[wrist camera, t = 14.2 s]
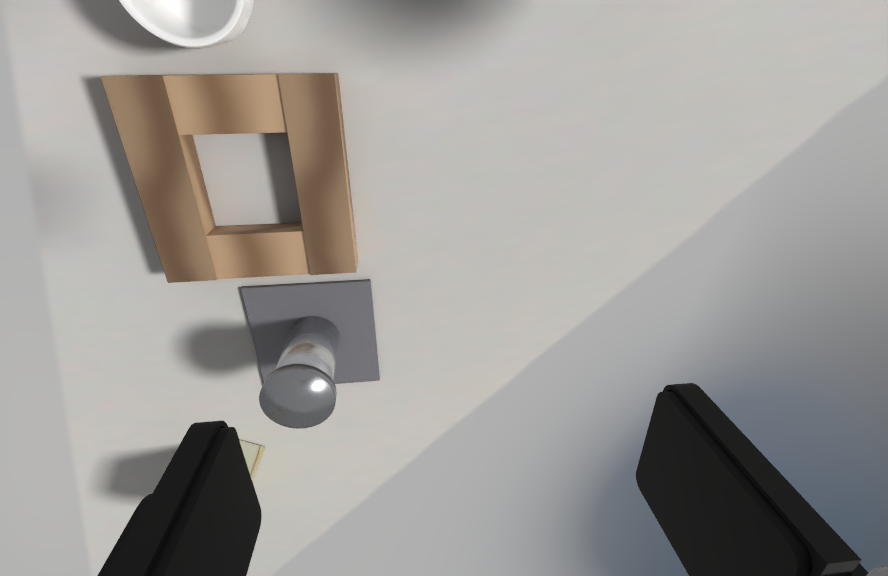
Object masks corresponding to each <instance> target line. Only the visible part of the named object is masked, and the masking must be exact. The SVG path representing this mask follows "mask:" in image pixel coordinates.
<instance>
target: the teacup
mask: <svg viewBox="0 0 888 576" xmlns="http://www.w3.org/2000/svg"><path fill="white" fill-rule="evenodd" d="M119 1H120V3H121V4H122V5H123V7H124V8H125V9H126V11H127V12H128V13H129V14H130V15H131V16H132V17H133V18H134V19H135V20H136V21H137V22H138V23H139V24H140V25H141V26H143V27H144V28H145V29H146V30H148V31H149V32H151V33H152V34H154V35H155V36H157V37H158V38H160V39H162V40H164V41H166V42H169V43H171V44H174V45H177V46H180V47H185V48H193V49H200V48H207V47H212V46H215V45H218V44H221V43H225V42H229V41H231V40H233V39H235V38H236V37H238V36H239V35H240V34H241V33H242V31H243V30H244V29H245V27H246V25H247V23H248V20H249V17H250V15H251V12H252V8H253V3H254V0H119Z"/></svg>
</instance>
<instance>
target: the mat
mask: <svg viewBox="0 0 888 576" xmlns="http://www.w3.org/2000/svg"><path fill="white" fill-rule="evenodd" d="M241 291H242V295H243V299H244V303H245V307H246V311H247V315H248V320H249V324H250V328H251V332H252V336H253V340H254V344H255V348H256V352H257V356H258V360H259V364H260V369H261V373H262V377H263V381H265V379H266V378H267V376H268V375H269V374H270V373H271V372H273V371H274V370H275V369H276V367H277V364H278V362H279V359H280V356H281V353H282V351H283V348H284V345H285V343H286V340H287V337H288V335H289V332H290V329H291V327H292V326H293V324H294V323H295V322H296V321H298V320H299V319H301V318H304V317H308V316H319V317H323V318H326V319H328V320H329V321H331V322H332V323H333V324H334V325H335V326H336V327H337V329H338V330H339V333H340V343H339V349H338V355H337V361H336V366H335V372H334V378H333V382H334V384H340V383H353V382H365V381H378V380H380V377H379V366H378V355H377V345H376V334H375V323H374V313H373V302H372V292H371V281H370V279H368V280H350V281H333V282H315V283H297V284H280V285H262V286H244V287H242V288H241Z"/></svg>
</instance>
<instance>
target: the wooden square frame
mask: <svg viewBox="0 0 888 576" xmlns="http://www.w3.org/2000/svg"><path fill="white" fill-rule="evenodd" d="M100 77H101V80H102V83H103V86H104V89H105V92H106V95H107V98H108V101H109V104H110V107H111V110H112V113H113V116H114V119H115V122H116V125H117V129H118V132H119V135H120V138H121V141H122V144H123V147H124V150H125V153H126V156H127V159H128V162H129V165H130V168H131V171H132V174H133V177H134V181H135V184H136V187H137V190H138V193H139V196H140V199H141V202H142V205H143V208H144V211H145V214H146V217H147V220H148V223H149V226H150V229H151V233H152V236H153V239H154V242H155V245H156V248H157V251H158V254H159V257H160V260H161V263H162V266H163V269H164V272H165V275H166V278H167V281H168V283H172V282H190V281H208V280H217V279H227V278H246V277H264V276H282V275H301V274H310V275H318V274H336V273H354V272H356V270H357V264H358V257H357V248H356V238H355V229H354V219H353V210H352V200H351V191H350V182H349V172H348V163H347V153H346V144H345V134H344V125H343V116H342V106H341V97H340V87H339V78H338V73H318V74H229V75H139V76H100ZM278 132H287V133H288V139H289V145H290V151H291V157H292V164H293V170H294V176H295V182H296V188H297V194H298V201H299V207H300V213H301V219H302V223H283V224H260V225H237V226H215V222H214V218H213V214H212V210H211V206H210V203H209V199H208V195H207V191H206V187H205V183H204V179H203V175H202V171H201V167H200V163H199V159H198V156H197V152H196V148H195V144H194V140H193V136H192V135H194V134H236V133H278Z"/></svg>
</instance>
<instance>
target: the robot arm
mask: <svg viewBox="0 0 888 576" xmlns="http://www.w3.org/2000/svg"><path fill="white" fill-rule="evenodd" d="M636 480H637V484H638V487H639V489H640V491H641V493H642V494H643V496H644V498H645V500H646V501H647V503H648V505H649V507H650V508H651V510H652V512H653V514H654V515H655V517H656V519H657V520H658V522H659V524H660V526H661V528H662V529H663V531H664V533H665V534H666V536H667V538H668V540H669V541H670V543H671V545H672V547H673V548H674V550H675V552H676V554H677V555H678V557H679V559H680V561H681V562H682V564H683V566H684V568H685V569H686V571H687V573H688V574H689V576H888V568H885V567H882V568H877V569H873V570H871V571H870V572H869V573H868V572H867V571H866V570H865V569H864V568H863V567H862V566H861V564H860V563H859V562H860V561H861V559H860V558H859V557H858V556H857V555H856V554H855V552H854V551H853V550H852V549H851V548H850V547H849V546H848V545H847V544H846V543H845V542H844V541H843V540H842V539H841V538H840V536H839V535H838V534H836V532H835V531H834V530H833V529H832V528H831V527H830V526H829V525H828V524H827V523H826V522H825V520H823V518H822V517H821V516H820V515H819V514H818V513H817V512H816V511H815V510H814V509H813V508H812V507H811V506H810V505H809V503H808V502H807V501H805V499H804V498H803V497H802V496H801V495H800V494H799V493H798V492H797V491H796V490H795V488H794V487H793V486H792V485H791V484H790V483H789V482H788V481H787V480H786V479H785V478H784V477H783V476H782V475H781V474H780V472H779V471H778V470H777V469H776V468H775V467H774V466H773V465H772V464H771V463H770V462H769V461H768V460H767V459H766V458H765V456H763V454H762V453H761V452H760V451H759V450H758V449H757V448H756V447H755V446H754V445H753V444H752V443H751V442H750V440H749V439H748V438H747V437H746V436H745V435H744V434H743V433H742V432H741V431H740V430H739V429H738V428H737V427H736V426H735V424H734V423H733V422H732V421H731V420H730V419H729V418H728V417H727V416H726V415H725V414H724V413H723V412H722V411H721V410H720V408H719V407H718V406H717V405H716V404H715V403H714V402H713V401H712V400H711V399H710V398H709V397H708V396H707V395H706V394H705V393H704V391H703V390H702V389H701V388H700V387H699V386H697V385H696V384H693V383H687V384H674V385H667V386H666V387H665V388H664V390H663V392H660V393H659V394H658V396H657V398H656V402H655V406H654V409H653V413H652V416H651V421H650V424H649V428H648V431H647V435H646V438H645V442H644V446H643V450H642V453H641V456H640V460H639V464H638V467H637V471H636ZM260 525H261V508H260V505H259V502H258V498H257V495H256V492H255V489H254V486H253V483H252V479H251V476H250V473H249V470H248V467H247V463H246V460H245V457H244V454H243V451H242V448H241V444H240V441H239V438H238V435H237V432H236V429H235V428H234V427H228V426H227V424H226V422H224V421H213V422H201V423H194V424H192V425H191V427H190V428H189V429H188V431H187V433H186V435H185V436H184V438H183V440H182V442H181V444H180V445H179V447H178V449H177V451H176V453H175V454H174V456H173V458H172V460H171V462H170V463H169V465H168V467H167V469H166V471H165V472H164V474H163V476H162V478H161V480H160V481H159V483H158V485H157V487H156V489H155V490H154V492H153V494H149V495H147V496H146V497H145V498H144V499H143V500H142V501H141V502H140V504H139V505H138V507H137V508H136V510H135V512H134V513H133V515H132V517H131V519H130V520H129V522H128V524H127V526H126V527H125V529H124V531H123V532H122V534H121V536H120V538H119V539H118V541H117V543H116V545H115V546H114V548H113V550H112V552H111V553H110V555H109V557H108V559H107V560H106V562H105V564H104V566H103V567H102V569H101V571H100V572H99V574H98V576H246V574H247V571H248V567H249V564H250V560H251V557H252V553H253V550H254V546H255V543H256V539H257V536H258V532H259V529H260Z"/></svg>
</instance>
